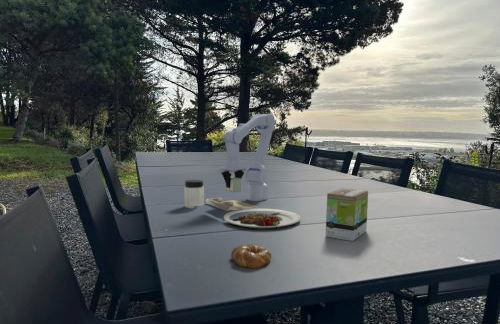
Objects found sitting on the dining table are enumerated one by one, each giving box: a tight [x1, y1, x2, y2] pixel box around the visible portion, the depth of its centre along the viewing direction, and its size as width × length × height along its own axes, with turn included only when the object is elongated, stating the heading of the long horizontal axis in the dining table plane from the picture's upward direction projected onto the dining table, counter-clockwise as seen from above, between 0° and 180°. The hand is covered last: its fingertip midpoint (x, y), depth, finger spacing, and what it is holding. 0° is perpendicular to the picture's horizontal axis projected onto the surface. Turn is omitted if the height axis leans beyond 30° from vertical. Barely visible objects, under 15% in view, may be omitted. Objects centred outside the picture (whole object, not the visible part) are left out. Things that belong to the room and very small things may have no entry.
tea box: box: [325, 187, 369, 242], centre depth 126 cm, size 15×10×15 cm, turn 148°
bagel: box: [230, 243, 272, 269], centre depth 100 cm, size 12×11×4 cm
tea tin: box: [225, 176, 242, 193], centre depth 170 cm, size 4×7×6 cm, turn 33°
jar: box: [183, 179, 205, 209], centre depth 171 cm, size 9×8×12 cm
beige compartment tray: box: [205, 197, 257, 212], centre depth 170 cm, size 16×20×3 cm
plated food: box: [223, 208, 301, 229], centre depth 145 cm, size 30×30×3 cm
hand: (232, 187), depth 170 cm, fingers closed on tea tin, 4 cm apart
